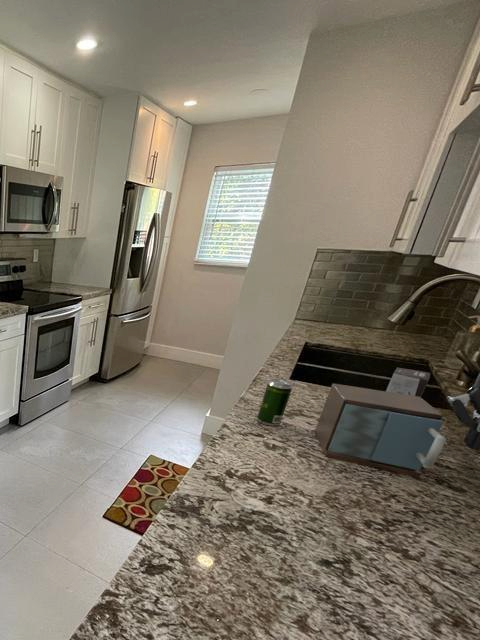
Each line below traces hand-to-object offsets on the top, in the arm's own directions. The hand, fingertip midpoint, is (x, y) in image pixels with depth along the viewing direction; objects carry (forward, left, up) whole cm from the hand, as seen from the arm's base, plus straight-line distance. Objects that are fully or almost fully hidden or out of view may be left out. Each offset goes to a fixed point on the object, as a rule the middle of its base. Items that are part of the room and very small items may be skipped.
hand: (473, 448), depth 80 cm
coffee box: (+1, -33, -11) cm, 34 cm away
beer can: (+29, -20, -11) cm, 37 cm away
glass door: (+7, -2, -9) cm, 12 cm away
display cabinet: (+11, -13, -11) cm, 20 cm away
